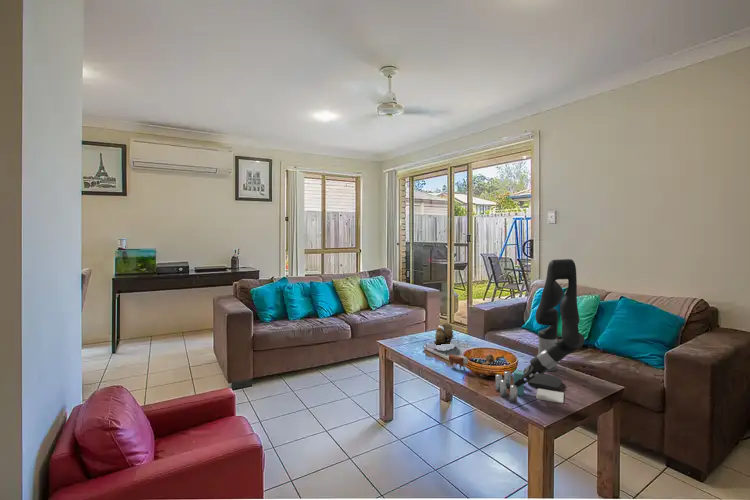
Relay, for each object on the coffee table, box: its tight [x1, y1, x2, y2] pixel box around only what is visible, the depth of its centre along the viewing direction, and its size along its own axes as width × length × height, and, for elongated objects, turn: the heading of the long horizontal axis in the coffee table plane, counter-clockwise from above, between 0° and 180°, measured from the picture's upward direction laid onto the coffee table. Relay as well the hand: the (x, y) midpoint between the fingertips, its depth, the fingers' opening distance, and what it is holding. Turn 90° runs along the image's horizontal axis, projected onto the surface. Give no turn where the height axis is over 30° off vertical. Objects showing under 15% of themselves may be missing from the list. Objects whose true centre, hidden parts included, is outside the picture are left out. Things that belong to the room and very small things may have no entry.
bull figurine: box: [448, 353, 470, 371], centre depth 204 cm, size 4×13×8 cm, turn 38°
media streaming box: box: [527, 372, 563, 392], centre depth 183 cm, size 15×15×3 cm
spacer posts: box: [495, 369, 523, 404], centre depth 175 cm, size 23×11×7 cm, turn 152°
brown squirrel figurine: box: [433, 321, 454, 345], centre depth 243 cm, size 18×12×17 cm, turn 136°
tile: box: [535, 388, 565, 404], centre depth 170 cm, size 11×11×1 cm
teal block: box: [513, 369, 525, 397], centre depth 173 cm, size 4×4×10 cm
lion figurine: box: [479, 353, 495, 378], centre depth 197 cm, size 15×5×9 cm, turn 148°
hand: (516, 382), depth 173 cm, fingers open, 8 cm apart
